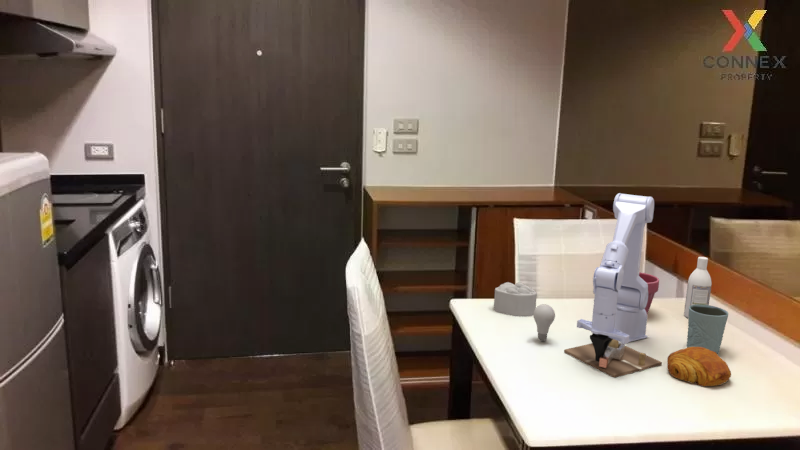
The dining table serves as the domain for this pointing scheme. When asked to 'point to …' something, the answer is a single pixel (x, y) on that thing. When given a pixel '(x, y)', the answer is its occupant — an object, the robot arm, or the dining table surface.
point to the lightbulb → (543, 320)
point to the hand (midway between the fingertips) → (599, 360)
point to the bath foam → (698, 286)
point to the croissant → (698, 366)
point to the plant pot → (650, 287)
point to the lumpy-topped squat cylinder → (515, 299)
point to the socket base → (614, 360)
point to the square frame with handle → (611, 354)
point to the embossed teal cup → (706, 326)
